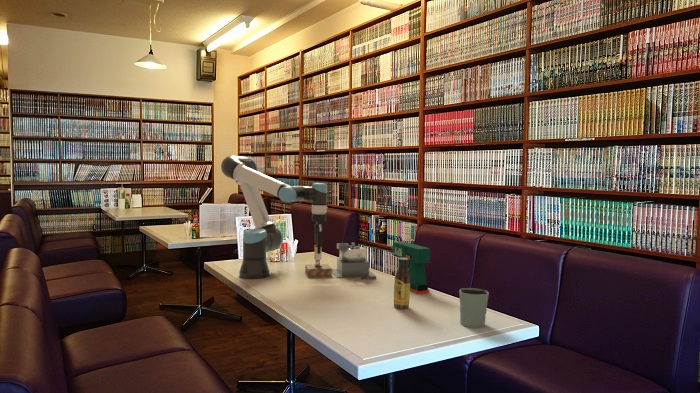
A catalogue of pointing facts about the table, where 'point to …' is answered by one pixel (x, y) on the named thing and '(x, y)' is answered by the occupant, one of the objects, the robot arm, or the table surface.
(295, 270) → the table surface
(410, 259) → the power tool
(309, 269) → the wooden hole block
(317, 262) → the orange rounded rod
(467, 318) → the grey cup
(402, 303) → the sauce bottle
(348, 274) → the stand
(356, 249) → the chuck
